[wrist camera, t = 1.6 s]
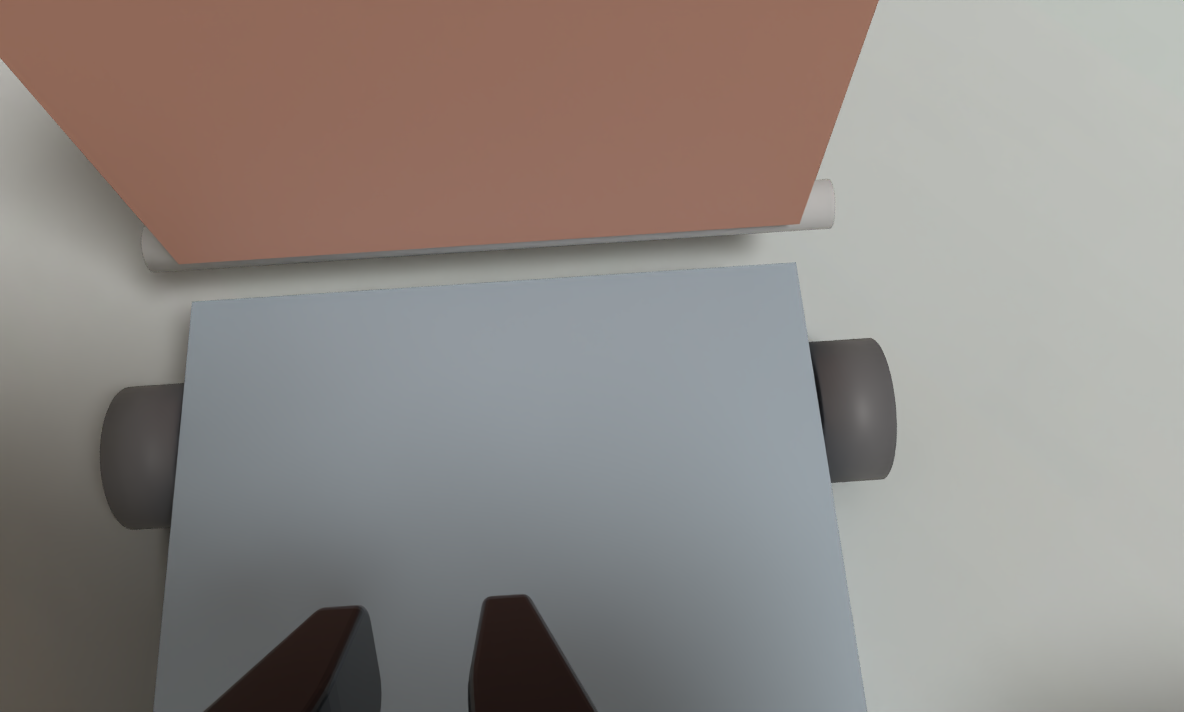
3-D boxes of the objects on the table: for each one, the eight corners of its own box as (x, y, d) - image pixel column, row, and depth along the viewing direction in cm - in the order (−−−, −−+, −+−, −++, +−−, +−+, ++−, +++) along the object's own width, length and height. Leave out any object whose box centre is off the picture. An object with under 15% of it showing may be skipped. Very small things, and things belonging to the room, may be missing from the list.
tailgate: (829, 244, 19) (1025, -219, 10) (159, 288, 18) (-250, -142, 10) (819, 188, 19) (999, -302, 10) (165, 231, 19) (-219, -229, 10)
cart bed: (981, 1145, 15) (1051, 1217, 13) (90, 1211, 15) (-8, 1296, 13) (837, 314, 21) (868, 255, 18) (175, 357, 20) (118, 303, 18)
